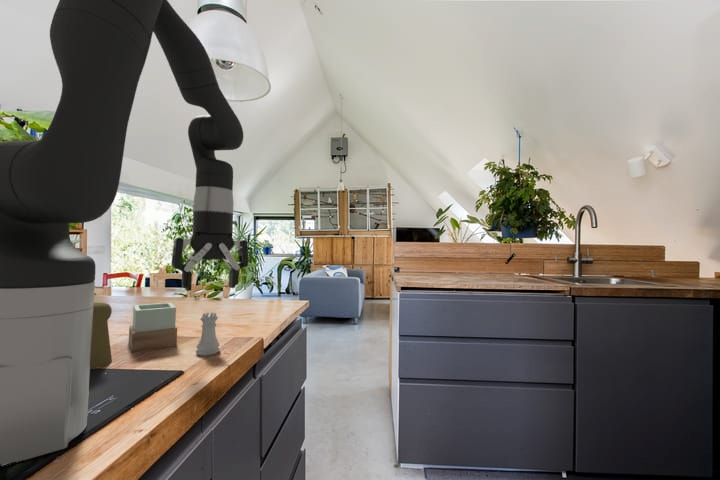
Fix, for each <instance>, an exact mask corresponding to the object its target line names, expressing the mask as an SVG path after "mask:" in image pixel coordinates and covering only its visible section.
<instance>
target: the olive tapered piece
mask: <svg viewBox="0 0 720 480" xmlns="http://www.w3.org/2000/svg"><path fill="white" fill-rule="evenodd" d="M111 315H112V306H111V305H110V304H109V303H107V302H106V303H105V302H94V305H93V321H92V339H91V357H90V371H91V370H96V369H100V368H103V367H105V366H106V367H107V366H108V365H110V364H111V363H112V362H113V358H112V349H111V341H110V331H109V324H108V323H109V322H108V320H109V319H110V318H111Z"/></svg>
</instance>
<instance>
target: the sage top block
mask: <svg viewBox="0 0 720 480" xmlns="http://www.w3.org/2000/svg"><path fill="white" fill-rule="evenodd" d="M132 313H133V314H132V325H133V328H134V332H135V333H137V332H145V331H154V330H162V329H170V328H175V326H176V321H177V320H176V316H177V306H175V305H174V304H173V302H159V303H148V304H133V312H132Z"/></svg>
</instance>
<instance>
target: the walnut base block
mask: <svg viewBox="0 0 720 480" xmlns="http://www.w3.org/2000/svg"><path fill="white" fill-rule="evenodd" d="M177 340H178V326H176V325H175V328H170V329H162V330H154V331H145V332H137V333H135V332H134V328H133V324H131V325H129V328H128V345H129V350H130V352H131V353H135V352H141V351H148V350H156V349H162V348H168V347H173V346H174V347H175V346H177V345H178V341H177Z"/></svg>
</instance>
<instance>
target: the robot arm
mask: <svg viewBox="0 0 720 480" xmlns="http://www.w3.org/2000/svg"><path fill="white" fill-rule="evenodd" d="M52 16H53V17H52V19H51V23H50V26H49V27H50V28H49V40H50V46H51V50H52V54H53V56H54V61H55V63H56V66H57V68H58V72H59V75H60V79H61V84H62V85H61V86H62V87H61V94H60V99H59V101H58V104H57V107H56V110H55V113H54V115H53V118H52V119H51V122H50V125H49V126H48V128H47V130H46V132H45V133H44V135H43V136H42V137H41V138H40V139H33V140H31V139H28V140H9V141H1V142H0V464H1V465H2V464H6V463H9V462H16V463H19V461H20V462H22V460H23V461H26V460H29V459H33V458H36V457H40V456H43V455H47V454H49V453H54V452H58V451H61V450H64V449H66V448H68V445H69V443H70V442H71V441H72V440H73V439H75V438H76V437H78V436H79V435H80V434H81V433H83V431H84V430H85V429H86V427H87V426H88V424H87V423H88V408H89V396H90V395H89V393H90V391H89V390H90V389H89V388H90V374H91V373H90V372H91V370H90V357H91V339H92V321H93V305H94V303H95V287H96V285H95V284H96V282H95V281H96V269H97V268H96V262H95V260H94V258H92V257H91V256H89V255H87V254H86V253H84V252H83V251H81V250H79V249H78V248H77V247H76V245H74V244H73V242H72V240H71V237H70V224H84V223H90V222H92V221H95V220H97V219H99V218H101V217H102V216H104V214H105V213H107V212H108V210H109V209H110V208H111V206H112V205H113V203H114V201H115V199H116V196H117V193H118V189H119V184H120V179H121V174H122V166H123V159H124V151H125V146H126V137H127V131H128V127H129V121H130V117H131V113H132V110H133V109H132V108H133V105H134V102H135V101H134V100H135V96H136V93H137V88H138V86H139V81H140V78H141V75H142V72H143V70H144V67H145V64H146V60H147V57H148V54H149V50H150V46H151V43H152V38H153V34H154V36H155V37H156V39H157V42H158V44H159V45H160V47H161V49H162V51H163V53H164V57H166V60H167V63H168V65H169V67H170V68H169V69H170V71H171V73H172V75H173V78H174V79H175V82H176V84H177V86H178V90H179V91H180V95H181V96H182V98H183V100H184V101H185V102H186V103H187V104H189V105H192V106H195V107H196V106H197V107H200V108H202V109H204V110H205V112H207V113H208V115H197V116H195V117H193V118H192V119H191V121H190V122H189V125H188V128H187V134H188V135H187V136H188V139H189V144H190V148H191V152H192V156H193V160H194V161H193V162H194V164H195V169H196V171H195V172H196V173H195V191H194V196H193V204H192V209H193V211H192V213H193V215H192V235H191V238H190V239H189V238H182V237H176V238H174V240H173V246H172V255H171V263H170V264H171V268H174V269H175V270H179V271H181V287H182V288H183V289H184V291H186V292H191V291H192V280H193V278H192V276H193V273H192V269H193V268H194V267H195V266H196V265H197V264H198V263H199V262H200V261H201V260H204V261H209V260H219V261H220V260H223V261H224V262H225V263H226V264H227V265H228V266H229V268H230V269H229V274H228V287H229V288H230V289H234V288H236V286H238V284H239V273H240V272H239V271H240V269H243V268H247V267H248V266H249V255H248V253H249V249H248V248H249V245H248V244H249V243H248V240H246V239H240V240H234V238H233V233H234V232H233V230H234V229H233V226H234V225H233V224H234V194H233V193H234V191H233V190H234V188H233V186H234V169H233V168H234V167H233V166H232V164H230V163H229V162H227V161H225V160H222V159H221V160H220V159H217V158H216V154H215V151H234V150H237V149H239V148H240V147H241V145H242V144H243V142H244V130H243V126H242V124H241V122H240V120H239V118H238V116H237V115H236V113H235V111H234V110H233V108H232V106H231V105H230V104H229V102H228V101H227V100H228V99H227V98H226V97H225V95H224V94H223V92H222V90H221V88H220V86H219V83H218V80H217V77H216V74H215V70H214V68H213V65H212V62H211V60H210V56H209V54H208V52H207V51H206V48H205V47H204V45H203V43H202V42H201V41H200V39H199V37H198V36H197V35H196V33H195V32H194V31H193V30H192V29H191V27H190V26H189V25H188V24H187V23H186V22H185V21H184V20H183V19H182V18H181V16H180V15H179V13H178V12H177V11H176V10H175V9H174V8H173V6H172V5H171V3H170V2H169V0H59V1H58V3H57V6H56V7H55V11H54V13H53V15H52ZM188 245H189V246H190V247H191V249H193V251H194V252H192V254H191V255H190V256H189V257H188V259H187V260H186V261H185V262H184V263H182V258H183V250H186V249H187V247H188ZM234 246H235V249H236V250H237V251H238V261H236V259H235V257H234V256H233V254H232V252H230V251H231V250H232V249H233V248H234Z"/></svg>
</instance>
